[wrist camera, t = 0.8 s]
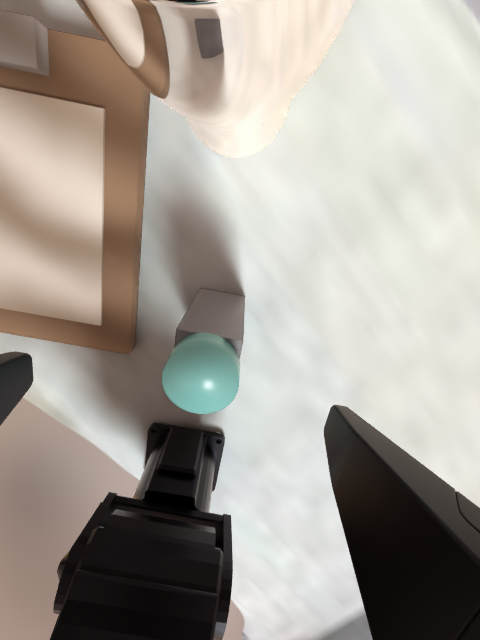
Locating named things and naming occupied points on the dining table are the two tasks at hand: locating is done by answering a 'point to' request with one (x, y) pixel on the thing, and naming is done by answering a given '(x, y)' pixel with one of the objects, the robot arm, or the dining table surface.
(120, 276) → the wooden tray
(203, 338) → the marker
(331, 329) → the dining table surface
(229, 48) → the metal tumbler
